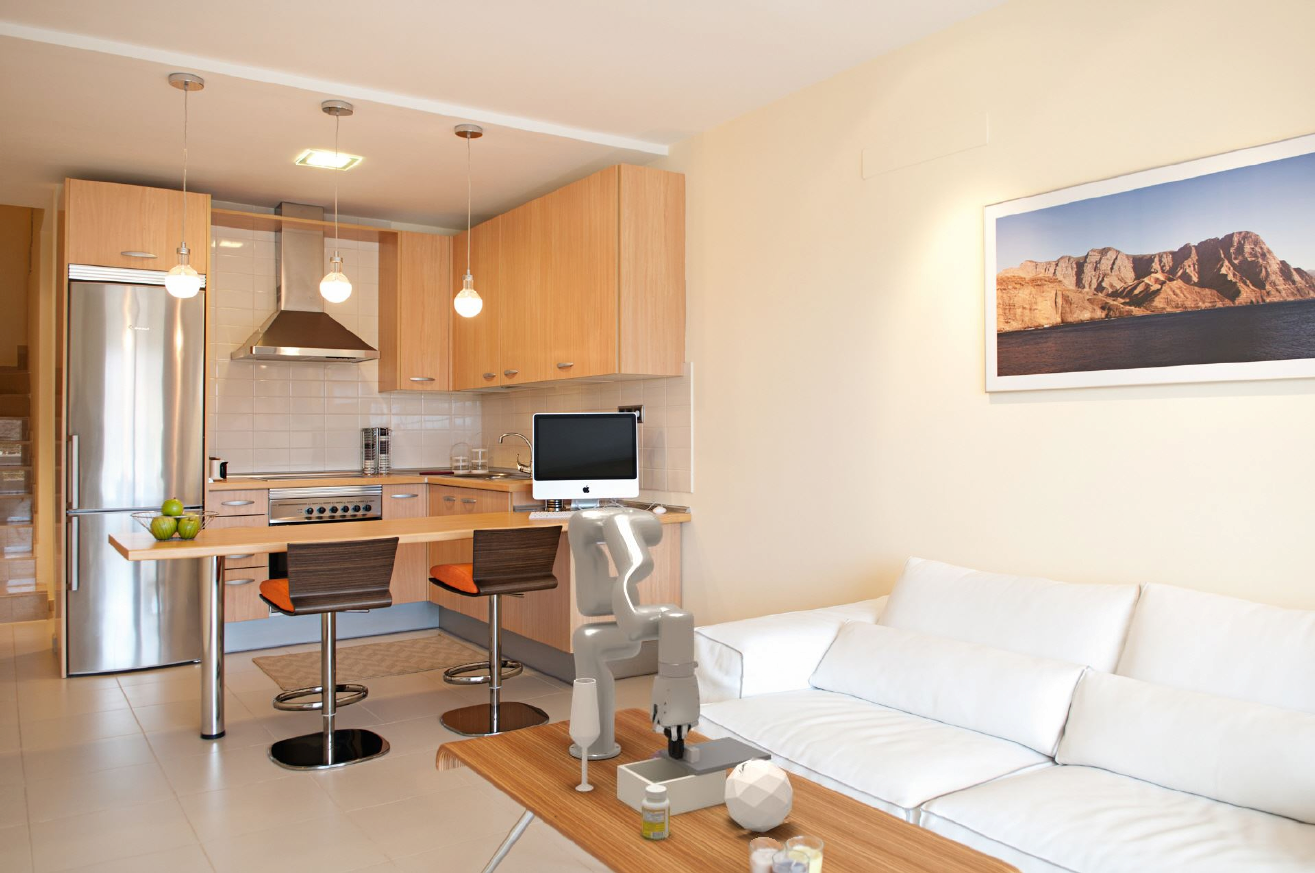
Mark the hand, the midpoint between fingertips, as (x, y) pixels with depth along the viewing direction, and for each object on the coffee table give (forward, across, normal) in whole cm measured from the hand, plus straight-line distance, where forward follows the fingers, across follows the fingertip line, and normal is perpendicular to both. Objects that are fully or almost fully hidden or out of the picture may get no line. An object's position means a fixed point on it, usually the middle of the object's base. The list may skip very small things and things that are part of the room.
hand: (676, 757), depth 195 cm
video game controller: (+10, -5, -17) cm, 20 cm away
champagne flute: (+10, +13, -16) cm, 23 cm away
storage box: (+10, +1, 0) cm, 10 cm away
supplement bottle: (+10, +13, +13) cm, 21 cm away
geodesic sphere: (+10, -7, +19) cm, 23 cm away
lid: (+2, -10, 0) cm, 10 cm away
